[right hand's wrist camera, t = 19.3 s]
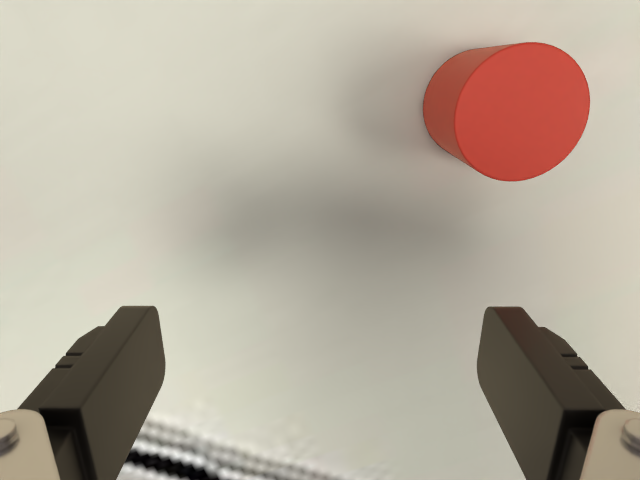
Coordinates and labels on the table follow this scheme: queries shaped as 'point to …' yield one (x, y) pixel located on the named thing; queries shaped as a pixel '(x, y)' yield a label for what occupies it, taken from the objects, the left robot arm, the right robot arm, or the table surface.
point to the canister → (508, 108)
